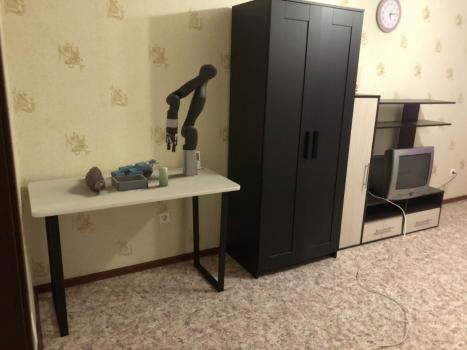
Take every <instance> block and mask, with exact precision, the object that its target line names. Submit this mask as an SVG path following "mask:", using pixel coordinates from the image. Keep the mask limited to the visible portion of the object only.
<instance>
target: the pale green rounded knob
mask: <svg viewBox="0 0 467 350" xmlns="http://www.w3.org/2000/svg"><path fill="white" fill-rule="evenodd" d="M168 169H169V168H168V167H167V166H160V167H158V176H159V177H158V180H159V181H158V182H159V183H158V185H159V187H163V188H166V187H169V171H168Z"/></svg>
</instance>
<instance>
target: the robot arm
mask: <svg viewBox="0 0 467 350" xmlns="http://www.w3.org/2000/svg"><path fill="white" fill-rule="evenodd" d="M217 74H218V68H217V66H216V65H215V64H211V63H206V64H202V66H201V67H200V68H199V73H198V75H197V76H195V77H194V78H192V79H189V80H188V81H186V82H185V83H184V84H183V85H182V84H181V86H180V87H179V88H178V89H176V90H174V91H173V92H171V93H169V94H168V95H167V96H166V98H165V102H166V104H167V105H168V106H169V108H168V110H167V112H166V123H165V134H166V135H165V144H166V150H167V151H171V153H176V147H177V146H178V135H177V134H178V133H179V132H178V131H179V111H180V106H181V100H182V99H185V98H187V97H188V96H189V95H190V94H191V93H193V94H192V97H191V100H190V104H189V107H188V110H187V113H186V116H185V119H184V122H183V123H182V126H181V128H180V135H181V137H182V138H183V139H184V144H182V175H183V176H187V177H189V176H190V177H191V176H192V177H193V176H196V175H198V159H197V147H198V143H199V140H198V138H199V131H198V129H197V127H195V124H196V121H197V119H198V117H199V116H200V115H201V113H202V112H203V110H204V107H205V105H206V101H207V86H208V83H209V81H210V80H212V79H214V78H215V77H216V76H217ZM176 135H177V136H176Z"/></svg>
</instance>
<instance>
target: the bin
mask: <svg viewBox="0 0 467 350" xmlns="http://www.w3.org/2000/svg"><path fill="white" fill-rule="evenodd" d="M111 186H112V187H113V188H115V190H117V191H118V192H125V191H132V190H141V189H148V188H149V179H148V178H147V177H146V178H145V177H144V176H142V175H141V174H136V175H127V176H118V177H112V176H111Z"/></svg>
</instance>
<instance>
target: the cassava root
mask: <svg viewBox="0 0 467 350" xmlns="http://www.w3.org/2000/svg"><path fill="white" fill-rule="evenodd" d="M84 181H85V185H86V187H88V188H89V189H90V190H95V191H105V190H106V188H107V184H106V179H105V178H104V176H103V174H102V170H101V169H100V168H99V167H98V166H91V168H90V169H89V171H87V173H86V174H85V178H84Z"/></svg>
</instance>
